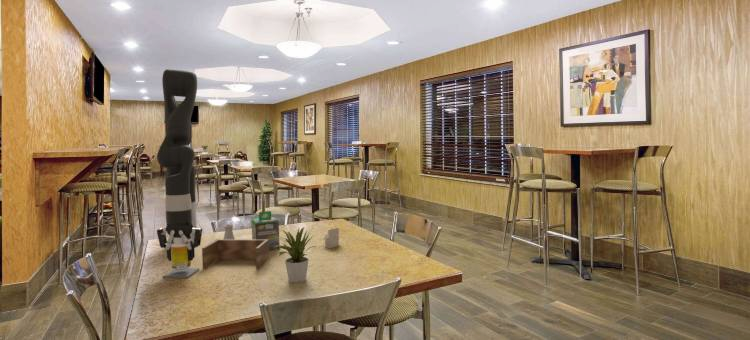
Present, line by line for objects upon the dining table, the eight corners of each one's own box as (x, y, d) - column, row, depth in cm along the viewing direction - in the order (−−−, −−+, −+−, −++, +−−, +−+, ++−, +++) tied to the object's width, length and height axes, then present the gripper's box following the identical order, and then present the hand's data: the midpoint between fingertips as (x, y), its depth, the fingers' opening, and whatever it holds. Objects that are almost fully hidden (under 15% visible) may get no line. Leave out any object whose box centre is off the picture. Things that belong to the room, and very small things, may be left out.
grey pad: (162, 278, 135) (162, 276, 135) (175, 270, 143) (175, 268, 143) (188, 278, 135) (187, 276, 135) (199, 270, 143) (199, 268, 143)
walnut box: (202, 268, 144) (201, 248, 144) (217, 258, 156) (216, 239, 156) (259, 268, 143) (258, 248, 143) (269, 258, 155) (268, 239, 155)
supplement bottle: (191, 269, 137) (189, 237, 137) (172, 271, 135) (170, 239, 134) (190, 264, 142) (189, 233, 142) (171, 266, 140) (170, 235, 139)
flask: (233, 254, 162) (232, 227, 162) (215, 253, 164) (214, 227, 163) (242, 249, 169) (241, 223, 169) (225, 248, 171) (224, 223, 170)
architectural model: (322, 247, 172) (322, 228, 171) (334, 243, 177) (334, 225, 176) (328, 248, 169) (328, 230, 169) (340, 245, 175) (340, 227, 174)
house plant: (279, 271, 141) (278, 221, 140) (322, 271, 140) (321, 221, 139) (267, 286, 127) (266, 231, 125) (314, 286, 126) (313, 231, 125)
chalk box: (274, 244, 176) (273, 208, 175) (280, 249, 168) (279, 211, 167) (251, 247, 172) (250, 210, 171) (256, 252, 164) (254, 213, 163)
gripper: (206, 206, 141) (208, 257, 142) (162, 206, 141) (165, 257, 143) (195, 210, 133) (197, 263, 135) (149, 210, 134) (152, 263, 135)
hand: (181, 260), depth 139 cm, fingers closed on supplement bottle, 5 cm apart
